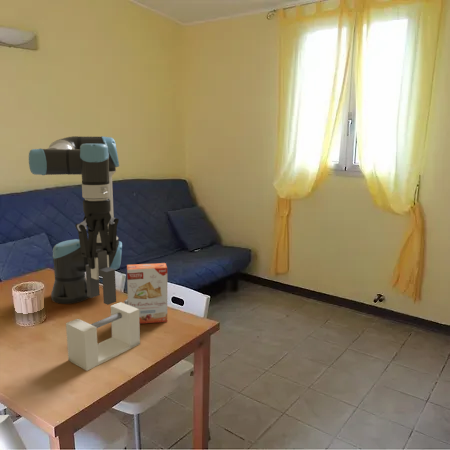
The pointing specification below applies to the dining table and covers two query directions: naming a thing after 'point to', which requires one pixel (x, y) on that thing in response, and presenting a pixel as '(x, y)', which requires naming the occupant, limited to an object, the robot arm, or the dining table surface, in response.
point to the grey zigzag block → (107, 278)
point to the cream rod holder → (119, 342)
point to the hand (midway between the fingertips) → (100, 276)
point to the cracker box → (148, 291)
